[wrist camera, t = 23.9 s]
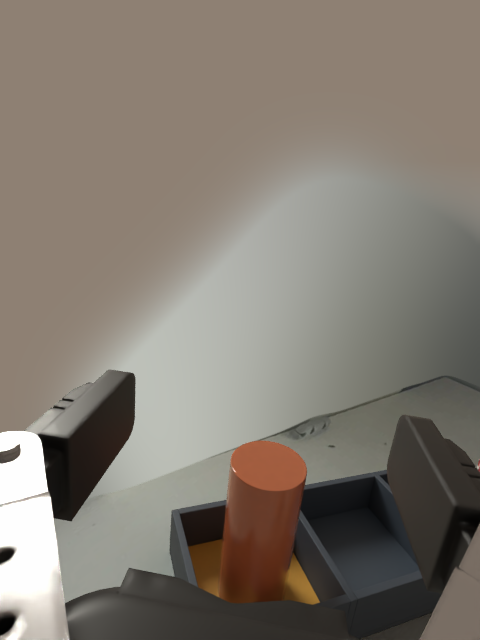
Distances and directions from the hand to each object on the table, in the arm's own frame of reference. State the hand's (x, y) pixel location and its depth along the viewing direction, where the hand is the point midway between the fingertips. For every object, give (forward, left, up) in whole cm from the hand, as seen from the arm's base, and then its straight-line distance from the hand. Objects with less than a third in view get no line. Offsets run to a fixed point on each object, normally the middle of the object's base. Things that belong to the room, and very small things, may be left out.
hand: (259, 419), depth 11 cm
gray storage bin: (+17, +12, -24) cm, 32 cm away
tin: (+7, +11, -24) cm, 27 cm away
